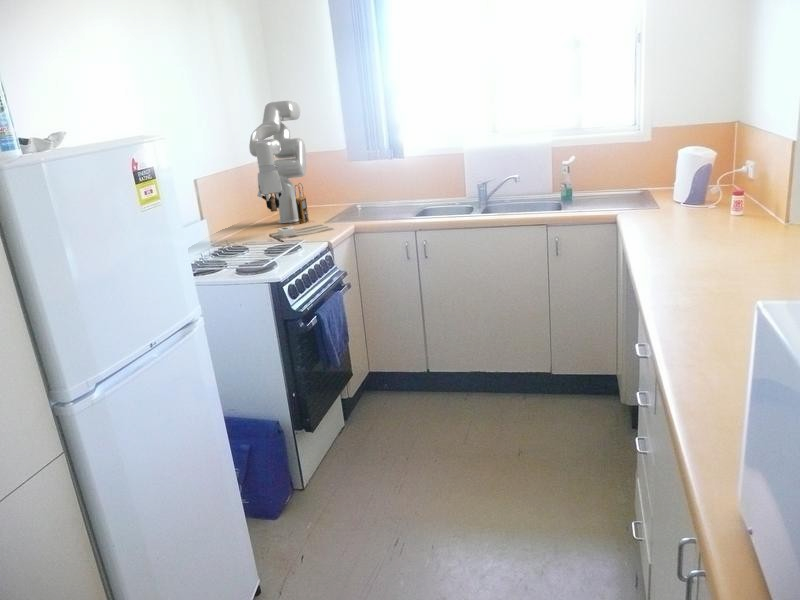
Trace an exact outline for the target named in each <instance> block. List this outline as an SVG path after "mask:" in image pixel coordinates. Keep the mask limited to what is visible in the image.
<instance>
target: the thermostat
mask: <svg viewBox="0 0 800 600" xmlns="http://www.w3.org/2000/svg"><path fill="white" fill-rule="evenodd" d="M295 229H296V227H293V226H285V227H281V228H277V231H278V232H277V233H279V236H282V237H286V236H291V235H296V230H295Z"/></svg>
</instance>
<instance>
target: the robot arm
mask: <svg viewBox="0 0 800 600" xmlns="http://www.w3.org/2000/svg"><path fill="white" fill-rule="evenodd" d="M300 116H301V109H300V107H299V104H298V103H297V102H295V101H292V100H281V101H271V102H268V103H267V104H266V105H265V106H264V111H263V118H262V123H261V124H259V126H257V127H256V128H255V129H254V130H253V131H252V133H251V135H250V139H249V153H250V154H251V156H253V157H255V158H256V161H257V165H258V171H259V172H257V186H258V189H257V190H258V191H257V197H258V198H261V199H263V200H264V201H265V204H266V207H267V208H266V209H268V210H271V209H272V208H271V202H270V201H269V198H270V195H271V194H272V195H273V196H274V198H275V199H276V206H277V209H278V214H279V219H278V220H277V221H276V222H277V224H279V223H289V224H293V223H292V222H296V223H298V222H297V221H299V219H298V212H297V205H296V198H297V195H296V196H295V192H296V187H295V184H294V183H293V182H292V181H291V180H290V179H293V178H295V179H296V178H302V177H304V176H305V175H306V172H307V158H306V153H307V152H306V151H307V150H306V144H305V142H304V139H301V138H298V137H297V138H295V137H294V138H291V131H290V129H289V127H288V126H286V125H285V124H284V123H283V122H287V121H296V120H298V119H299V118H300ZM272 136H273V138H270V137H272ZM275 158H276V160H275Z"/></svg>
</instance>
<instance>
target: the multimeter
mask: <svg viewBox="0 0 800 600" xmlns="http://www.w3.org/2000/svg"><path fill="white" fill-rule="evenodd" d="M300 185H301V186H300ZM294 187H298V194H299V197H298V198H297V194H296V193H297V192H296V191H295V196H296V205H297V212H298V219H299V222H298V224H299V225H304V224H308V223H310V221H309V220H310V217H309V213H308V212H309V211H308V204H307V197H306V196H305V195H304V193H302V192H301V189H302V190H304V187H303V184H302V183H300V182H299V183H298V185H297V184H296V185H295V184H294ZM301 187H302V188H301ZM302 195H303V196H302ZM307 222H308V223H307Z"/></svg>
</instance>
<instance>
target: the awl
mask: <svg viewBox="0 0 800 600" xmlns="http://www.w3.org/2000/svg"><path fill="white" fill-rule="evenodd" d="M269 201H270V202H271V208H272V209H270V212H272V213H273V212H278V208H277V206H276V199H275V195H273V193H272V194H270V196H269Z"/></svg>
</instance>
